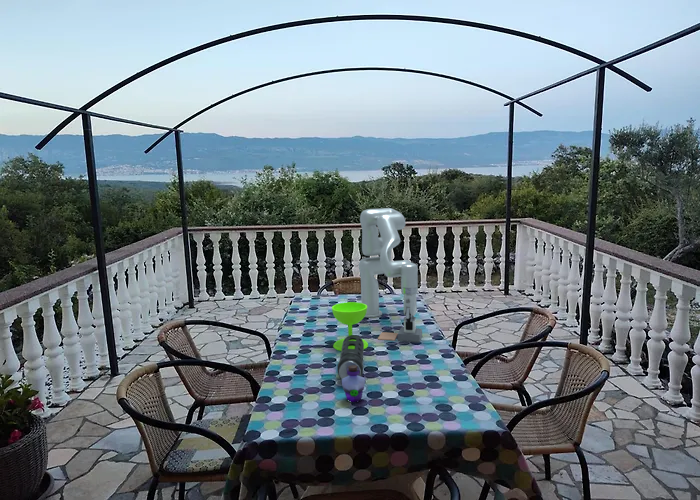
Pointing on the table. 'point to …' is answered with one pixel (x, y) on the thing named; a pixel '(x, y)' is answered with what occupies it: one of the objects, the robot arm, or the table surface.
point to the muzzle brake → (351, 355)
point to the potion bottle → (353, 384)
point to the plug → (413, 325)
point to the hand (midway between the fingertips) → (409, 327)
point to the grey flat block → (410, 335)
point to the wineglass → (349, 319)
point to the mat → (387, 336)
